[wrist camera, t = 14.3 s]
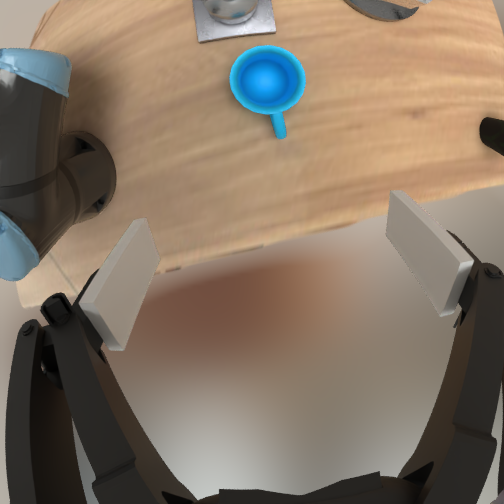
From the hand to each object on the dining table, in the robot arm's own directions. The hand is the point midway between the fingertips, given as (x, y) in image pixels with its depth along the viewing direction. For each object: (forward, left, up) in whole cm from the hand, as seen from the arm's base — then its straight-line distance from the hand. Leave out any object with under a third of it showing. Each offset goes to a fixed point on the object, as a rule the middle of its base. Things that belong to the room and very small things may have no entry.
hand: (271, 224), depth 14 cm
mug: (+2, +6, -27) cm, 28 cm away
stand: (-1, +20, -27) cm, 33 cm away
